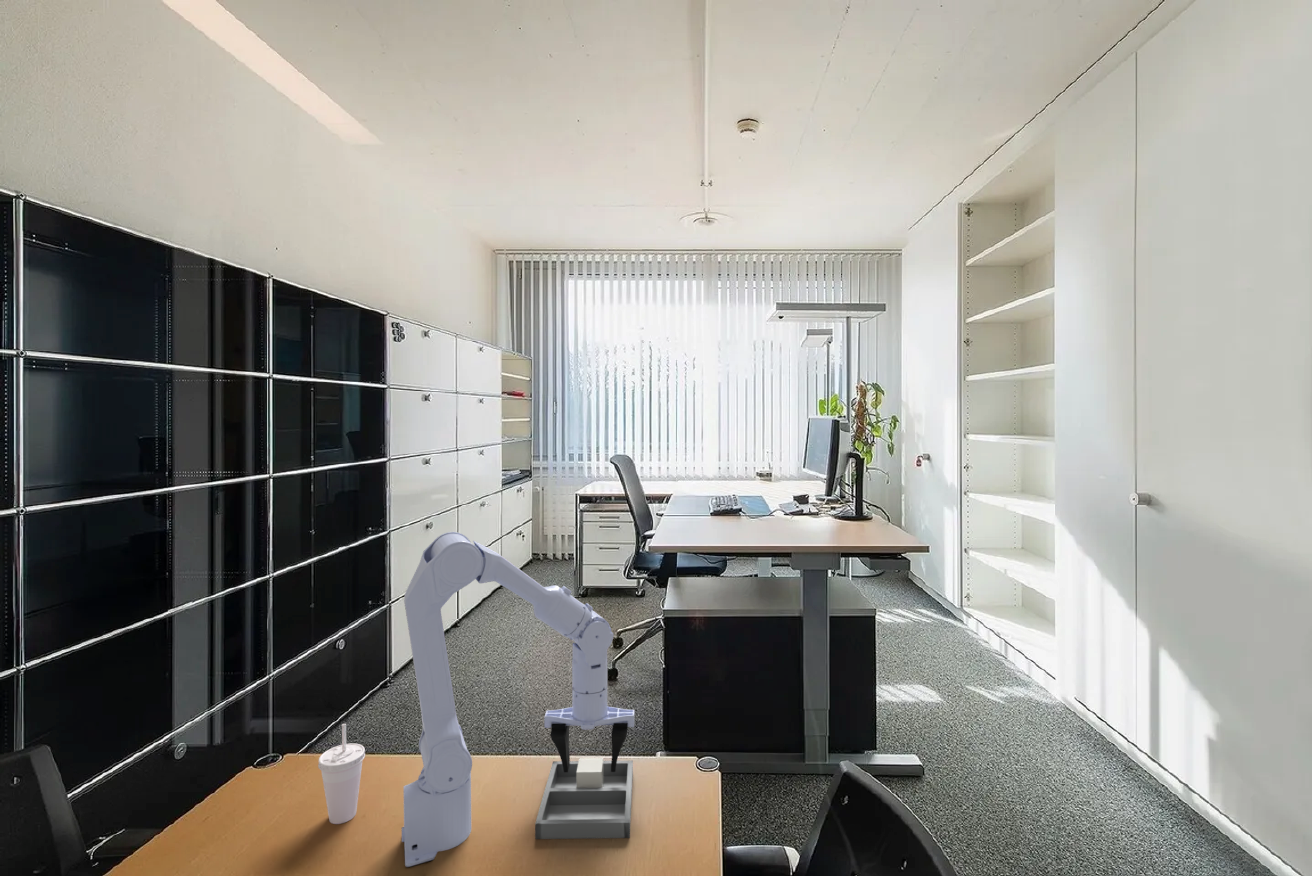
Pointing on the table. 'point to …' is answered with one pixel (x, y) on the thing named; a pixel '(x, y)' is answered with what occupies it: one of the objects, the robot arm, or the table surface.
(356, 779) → the smoothie
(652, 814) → the table surface
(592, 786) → the white block
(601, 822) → the divided tray
